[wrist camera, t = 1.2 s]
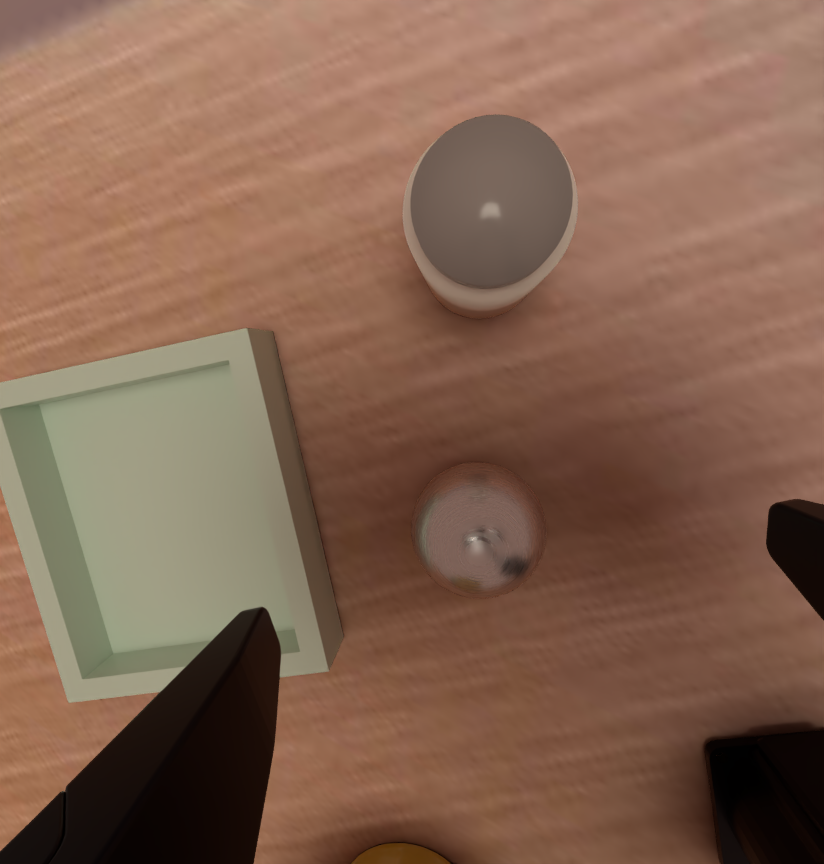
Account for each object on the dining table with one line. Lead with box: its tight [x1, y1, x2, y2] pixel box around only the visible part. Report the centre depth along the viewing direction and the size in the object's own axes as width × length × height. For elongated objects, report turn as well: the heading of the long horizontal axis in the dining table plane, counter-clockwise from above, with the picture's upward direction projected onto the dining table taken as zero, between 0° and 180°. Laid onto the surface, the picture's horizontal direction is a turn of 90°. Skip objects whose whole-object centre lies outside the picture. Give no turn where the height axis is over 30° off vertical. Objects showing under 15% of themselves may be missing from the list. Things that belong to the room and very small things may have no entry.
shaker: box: [403, 115, 578, 319], centre depth 16 cm, size 5×5×7 cm
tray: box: [0, 328, 344, 703], centre depth 21 cm, size 14×12×2 cm
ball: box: [411, 462, 546, 599], centre depth 18 cm, size 5×5×5 cm
